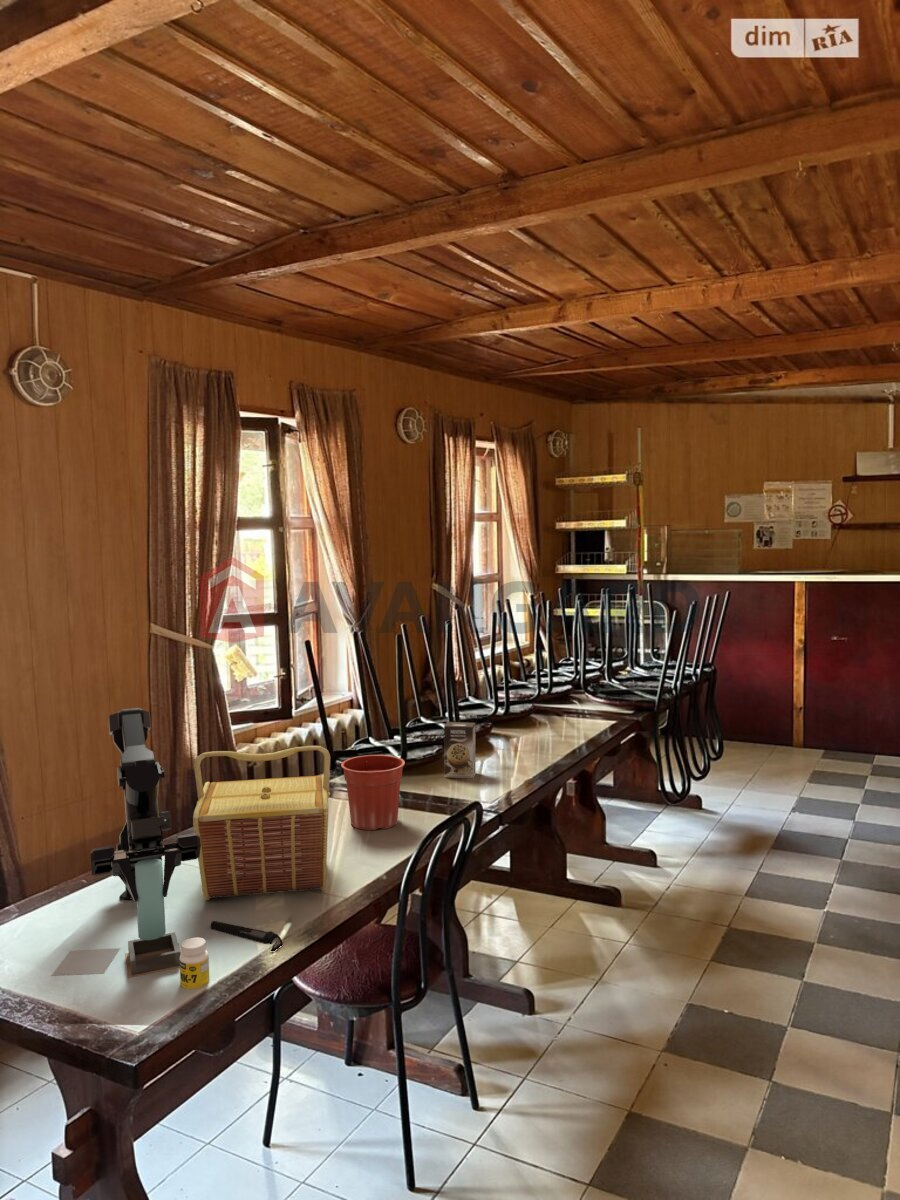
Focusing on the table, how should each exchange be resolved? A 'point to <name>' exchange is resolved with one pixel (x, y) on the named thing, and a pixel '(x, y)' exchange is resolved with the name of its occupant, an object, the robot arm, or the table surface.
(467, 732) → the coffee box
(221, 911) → the table surface
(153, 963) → the socket
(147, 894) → the peg
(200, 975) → the supplement bottle
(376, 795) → the flower pot
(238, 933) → the electric trimmer
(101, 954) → the pad
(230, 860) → the picnic basket
